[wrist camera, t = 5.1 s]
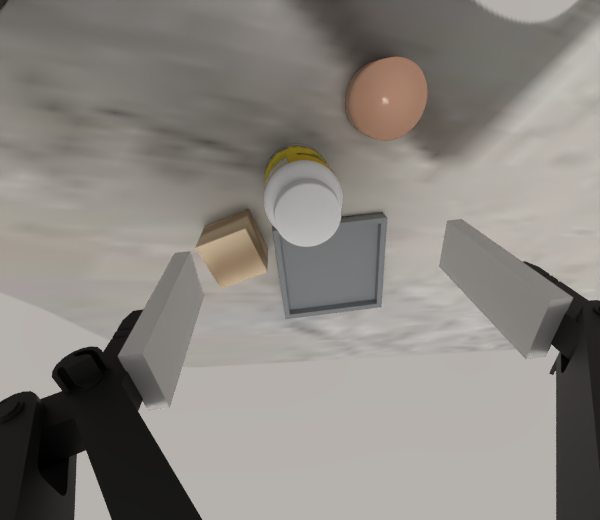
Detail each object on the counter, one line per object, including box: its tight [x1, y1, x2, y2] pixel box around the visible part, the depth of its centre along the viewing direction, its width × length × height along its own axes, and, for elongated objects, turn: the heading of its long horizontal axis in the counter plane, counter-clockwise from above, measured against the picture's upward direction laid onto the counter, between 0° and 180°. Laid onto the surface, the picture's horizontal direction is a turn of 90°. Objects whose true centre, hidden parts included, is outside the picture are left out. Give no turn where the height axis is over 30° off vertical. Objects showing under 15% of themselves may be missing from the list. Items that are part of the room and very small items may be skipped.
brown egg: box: [345, 57, 427, 141], centre depth 26 cm, size 6×6×4 cm
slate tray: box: [273, 212, 387, 319], centre depth 35 cm, size 12×12×2 cm
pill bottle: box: [264, 144, 343, 247], centre depth 25 cm, size 6×6×11 cm
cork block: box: [195, 209, 268, 288], centre depth 31 cm, size 5×5×5 cm
